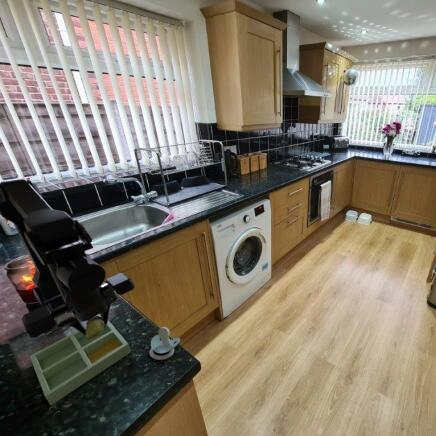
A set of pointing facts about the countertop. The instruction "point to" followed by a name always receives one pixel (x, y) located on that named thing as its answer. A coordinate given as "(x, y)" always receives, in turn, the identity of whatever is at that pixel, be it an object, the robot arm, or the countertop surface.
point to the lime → (94, 327)
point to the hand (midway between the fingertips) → (95, 328)
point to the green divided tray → (77, 361)
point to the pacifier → (163, 344)
